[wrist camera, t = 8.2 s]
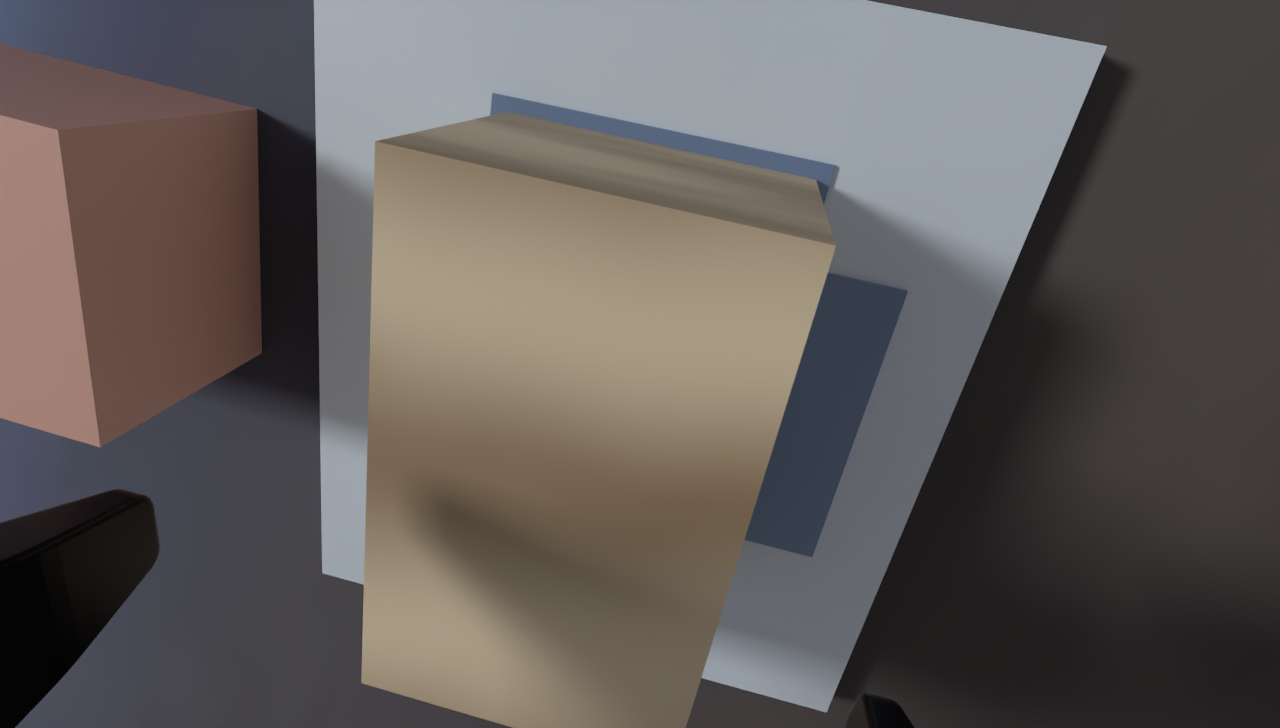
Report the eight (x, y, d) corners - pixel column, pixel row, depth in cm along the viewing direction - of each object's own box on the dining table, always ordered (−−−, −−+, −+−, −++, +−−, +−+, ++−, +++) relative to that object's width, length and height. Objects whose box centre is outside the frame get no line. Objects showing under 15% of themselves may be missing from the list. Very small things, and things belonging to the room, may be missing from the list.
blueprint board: (824, 687, 19) (826, 715, 18) (338, 554, 20) (320, 575, 20) (1087, 46, 12) (1109, 46, 12) (337, -97, 14) (309, -107, 13)
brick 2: (698, 587, 17) (671, 773, 13) (465, 524, 18) (361, 682, 13) (815, 179, 13) (836, 245, 9) (507, 112, 14) (375, 141, 9)
